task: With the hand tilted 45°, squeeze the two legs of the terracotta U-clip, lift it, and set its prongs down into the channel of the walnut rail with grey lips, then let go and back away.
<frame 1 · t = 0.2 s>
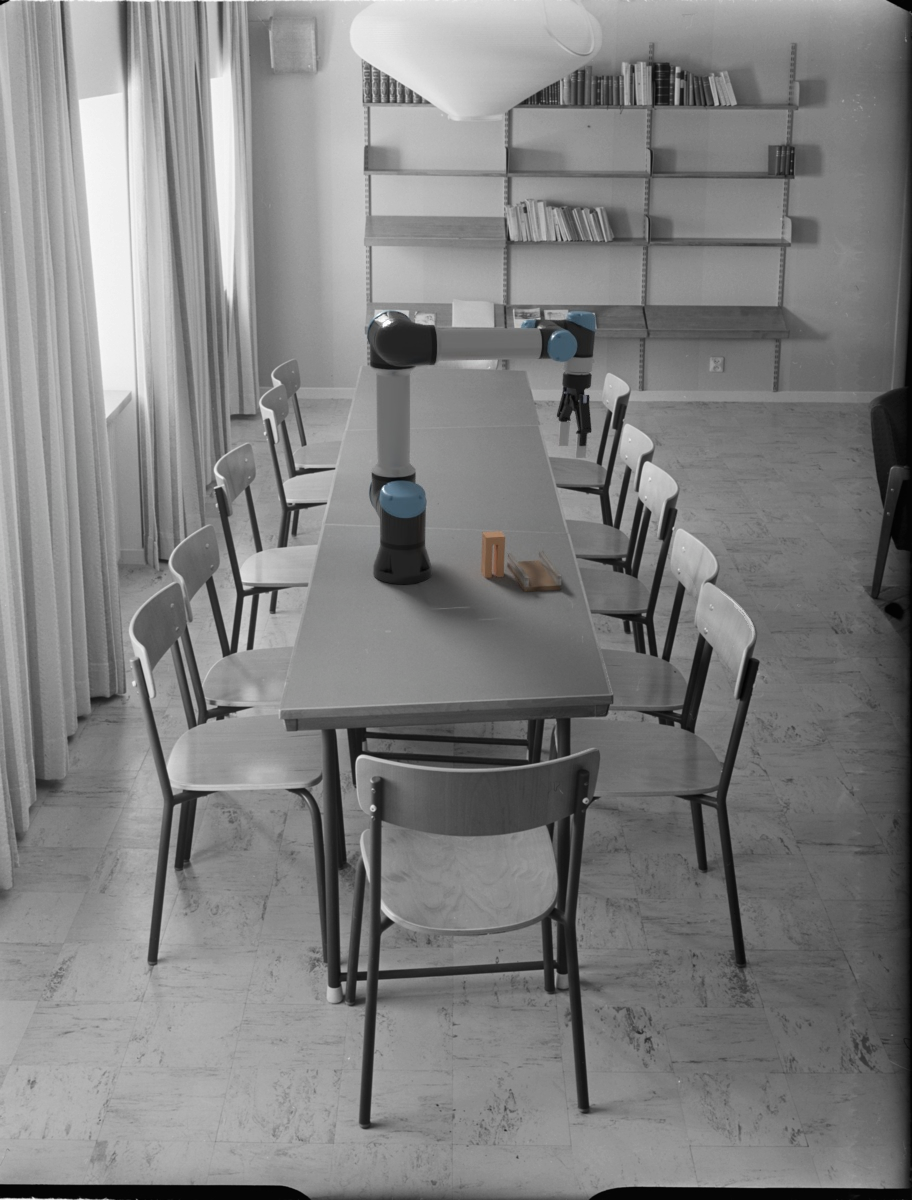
hand: (571, 451, 320), 27 cm above the table, tool pointing down, fingers open, 13 cm apart
rail: (533, 577, 308), on the table
clip: (492, 574, 310), on the table
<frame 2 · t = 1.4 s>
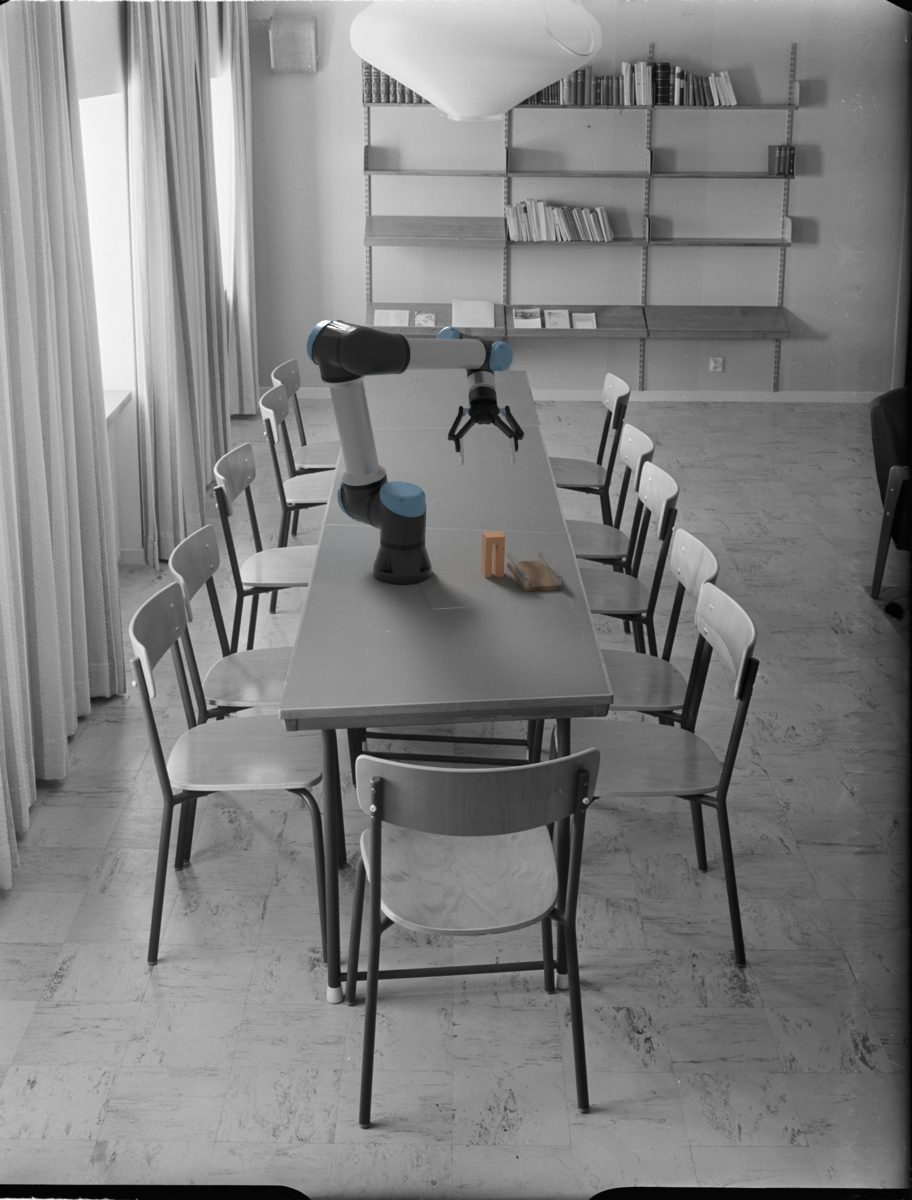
hand: (488, 462, 313), 26 cm above the table, tool tilted 45°, fingers open, 13 cm apart
nothing on the table moved.
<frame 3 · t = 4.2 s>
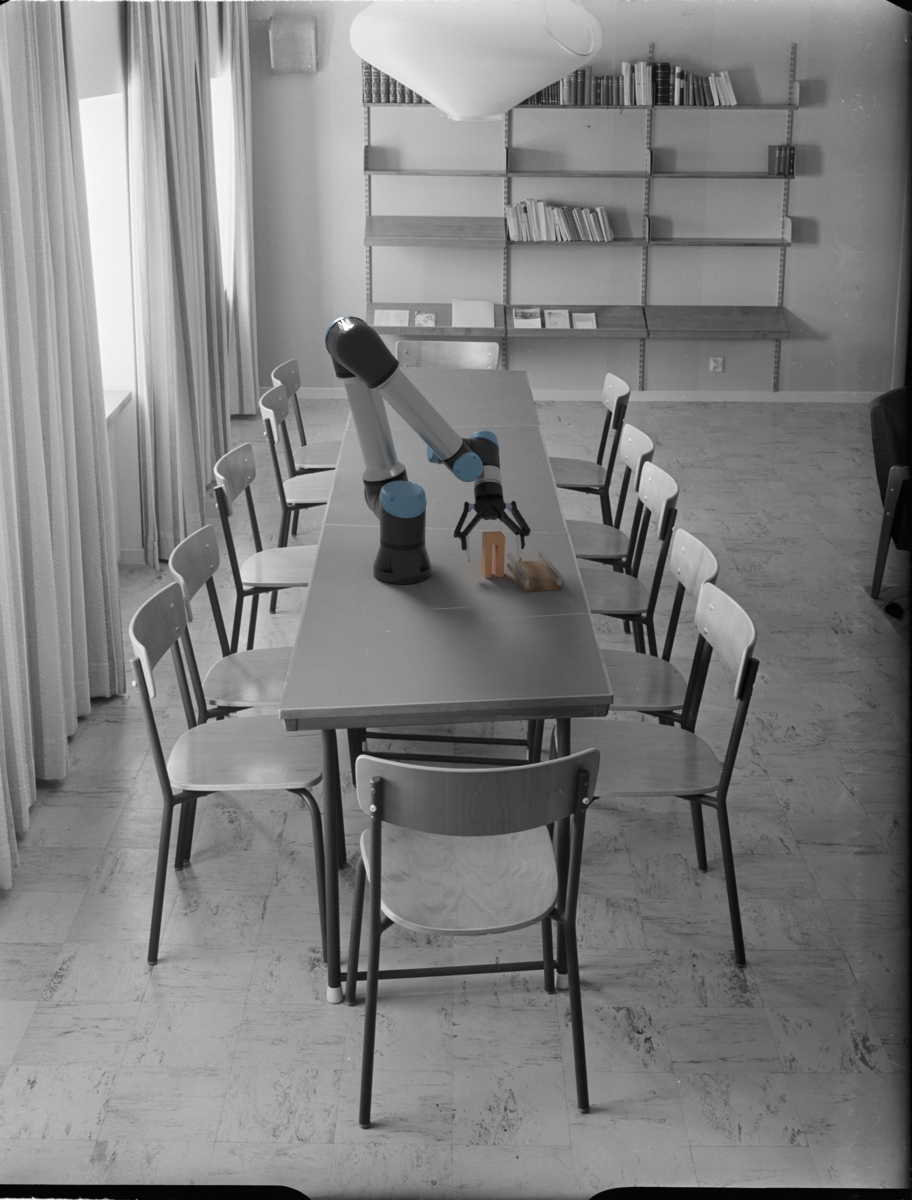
hand: (494, 560, 306), 5 cm above the table, tool tilted 45°, fingers open, 13 cm apart
nothing on the table moved.
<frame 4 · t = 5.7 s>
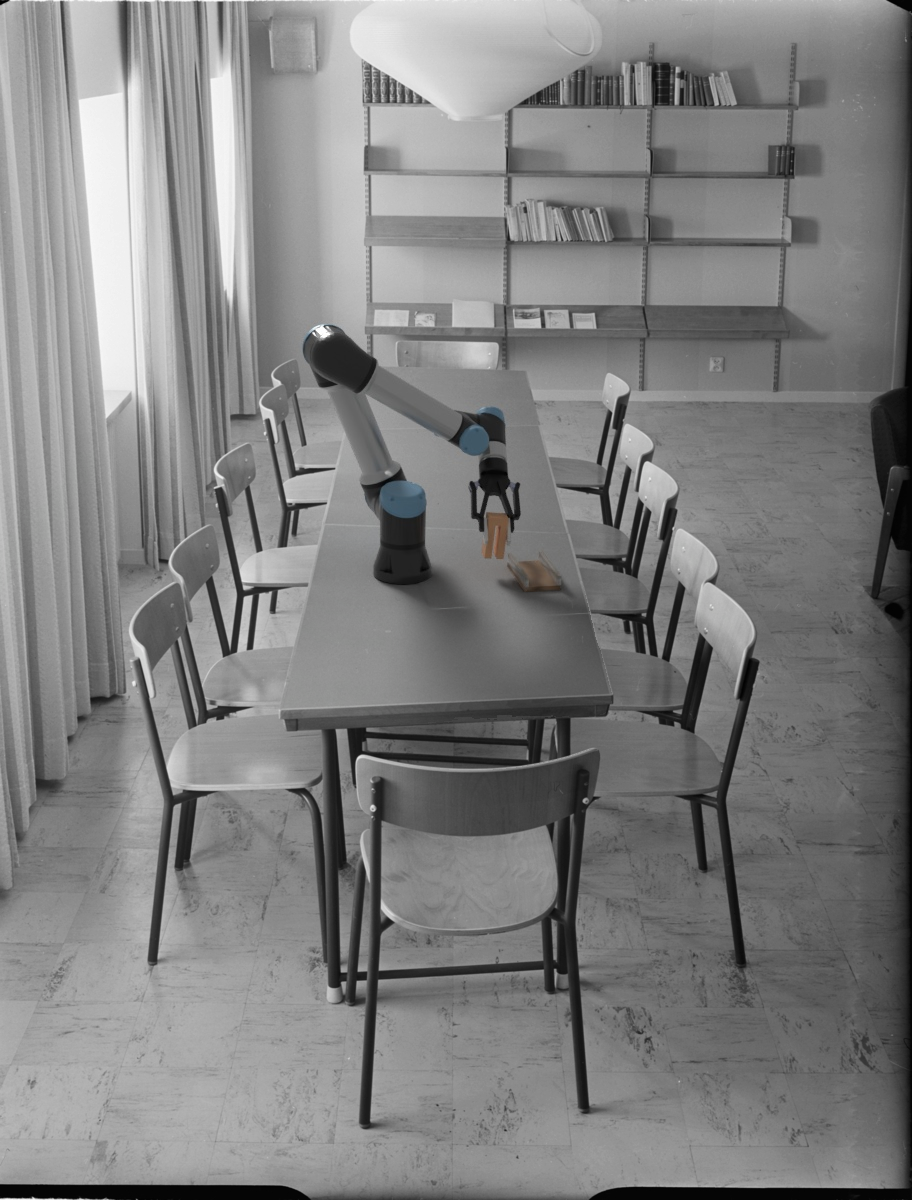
hand: (497, 542, 303), 10 cm above the table, tool tilted 45°, fingers closed on clip, 5 cm apart
clip: (492, 555, 308), point 5 cm above the table, tilted 5°, touching gripper
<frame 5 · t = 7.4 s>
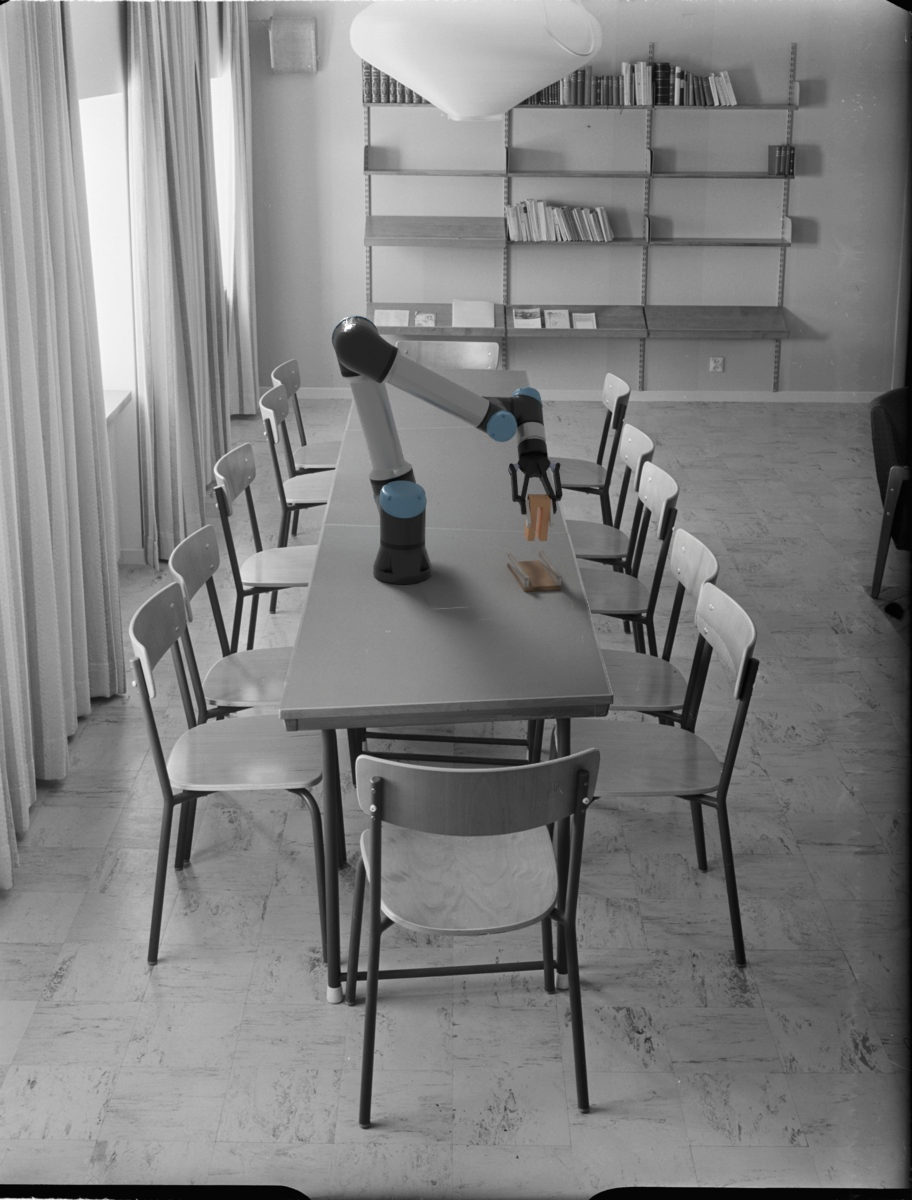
hand: (540, 524, 299), 16 cm above the table, tool tilted 45°, fingers closed on clip, 5 cm apart
clip: (535, 538, 304), point 11 cm above the table, touching gripper
when the fingers open (6 cm above the table, at t = 9.2 s): clip stays where it is, resting on rail.
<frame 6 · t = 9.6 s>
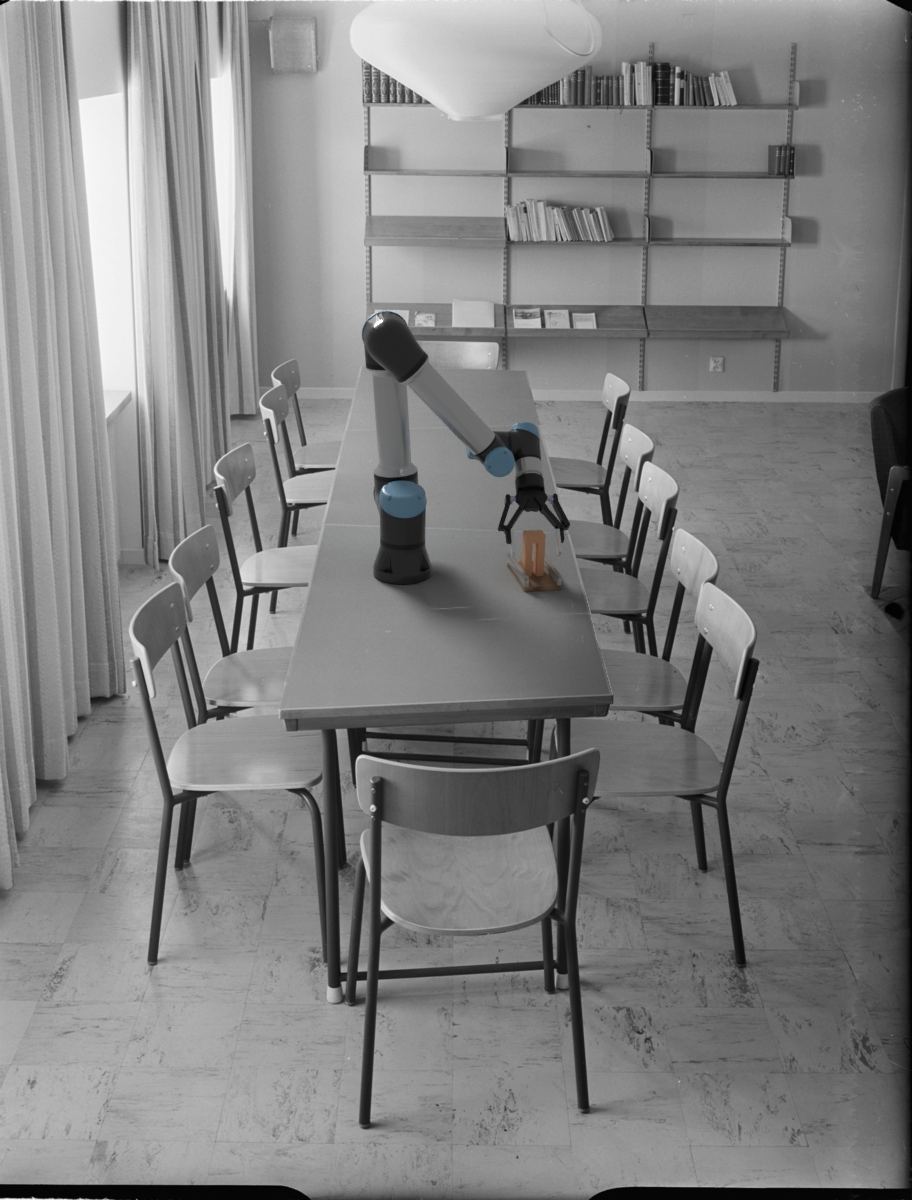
hand: (536, 554, 303), 7 cm above the table, tool tilted 45°, fingers open, 11 cm apart
clip: (532, 573, 308), point 1 cm above the table, touching rail
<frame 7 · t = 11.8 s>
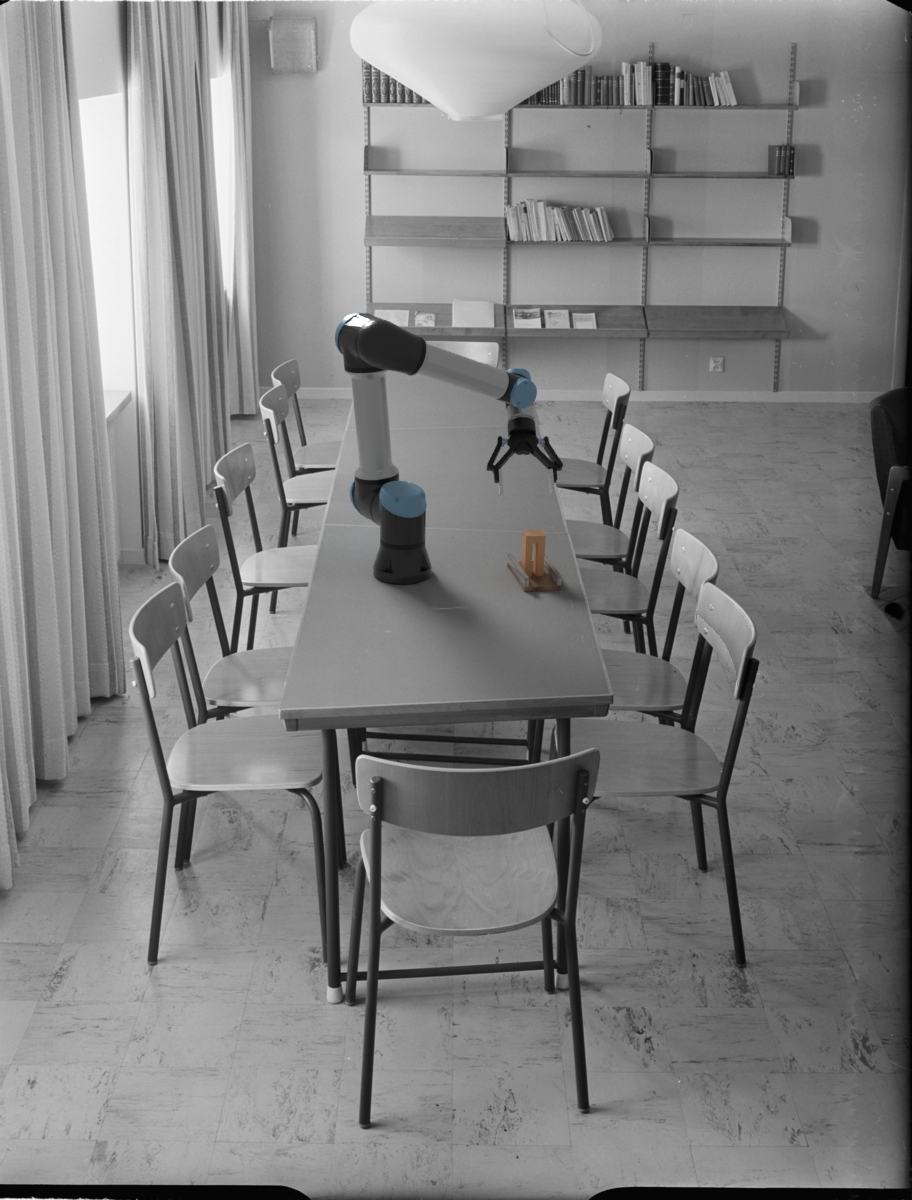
hand: (526, 493, 312), 19 cm above the table, tool tilted 45°, fingers open, 13 cm apart
nothing on the table moved.
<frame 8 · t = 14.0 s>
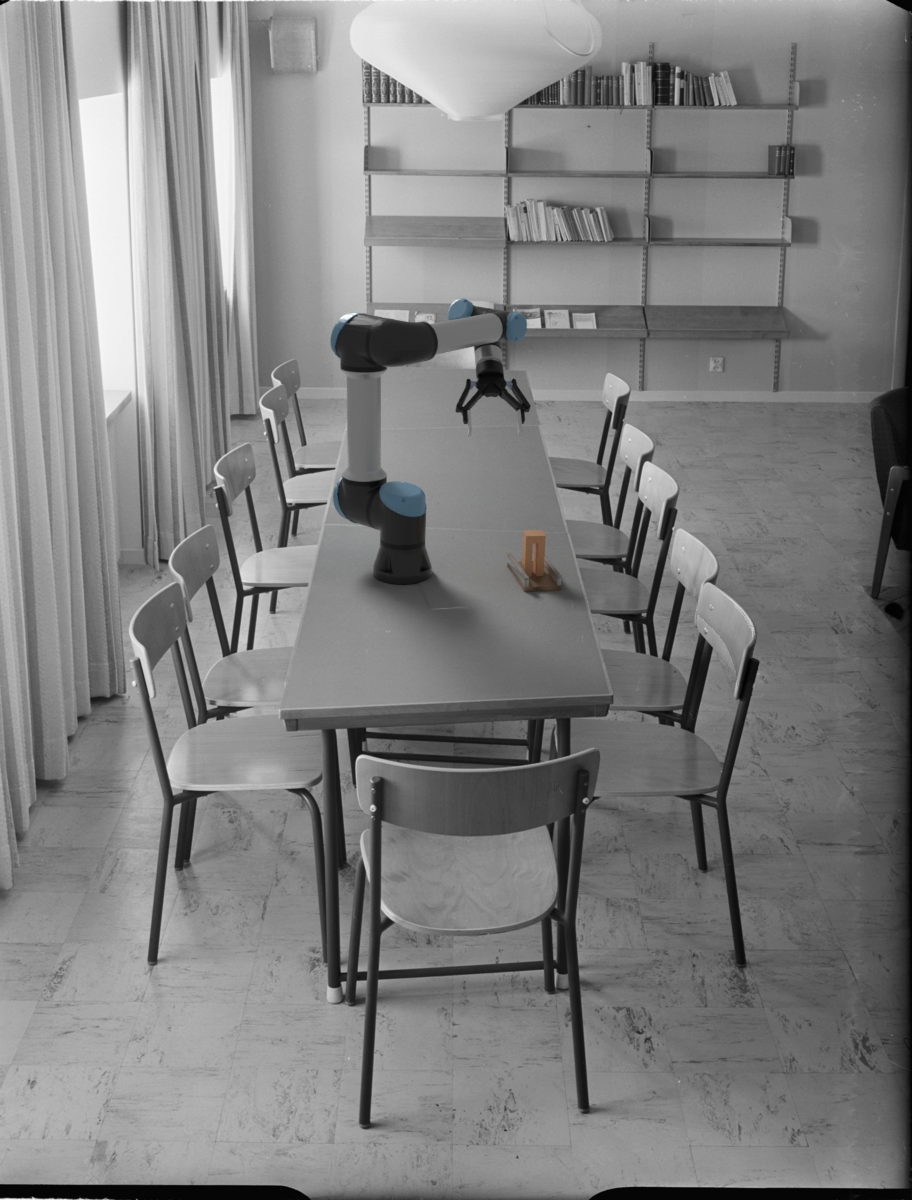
hand: (495, 433, 319), 32 cm above the table, tool tilted 45°, fingers open, 13 cm apart
nothing on the table moved.
at the end: clip inside the target area on the rail (0.4 cm from its centre), point 1.2 cm above the rail's base; clip tilted 0°; the gripper is holding nothing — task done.
